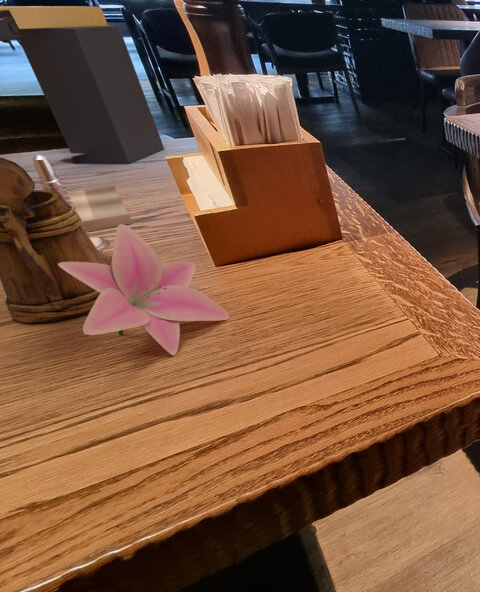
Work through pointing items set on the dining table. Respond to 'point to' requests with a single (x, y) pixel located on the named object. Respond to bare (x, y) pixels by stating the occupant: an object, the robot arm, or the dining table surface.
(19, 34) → the robot arm
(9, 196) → the wooden mug
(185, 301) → the lily
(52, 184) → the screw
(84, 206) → the board
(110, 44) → the pedestal
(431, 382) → the dining table surface
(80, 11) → the yellow bar
